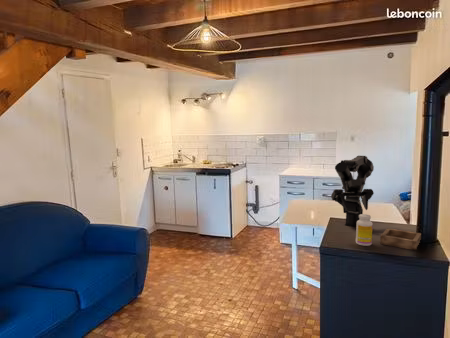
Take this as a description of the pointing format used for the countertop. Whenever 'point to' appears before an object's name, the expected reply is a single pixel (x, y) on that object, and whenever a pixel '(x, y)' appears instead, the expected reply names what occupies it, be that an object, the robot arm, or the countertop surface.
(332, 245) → the countertop surface
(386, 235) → the box
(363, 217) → the supplement bottle
